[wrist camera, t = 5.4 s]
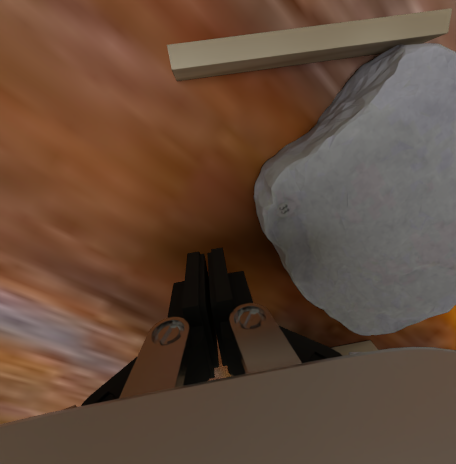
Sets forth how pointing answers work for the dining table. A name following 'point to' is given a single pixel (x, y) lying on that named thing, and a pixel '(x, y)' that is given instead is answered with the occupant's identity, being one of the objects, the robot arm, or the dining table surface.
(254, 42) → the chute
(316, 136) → the stone block
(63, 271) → the dining table surface
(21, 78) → the dining table surface
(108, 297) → the dining table surface
